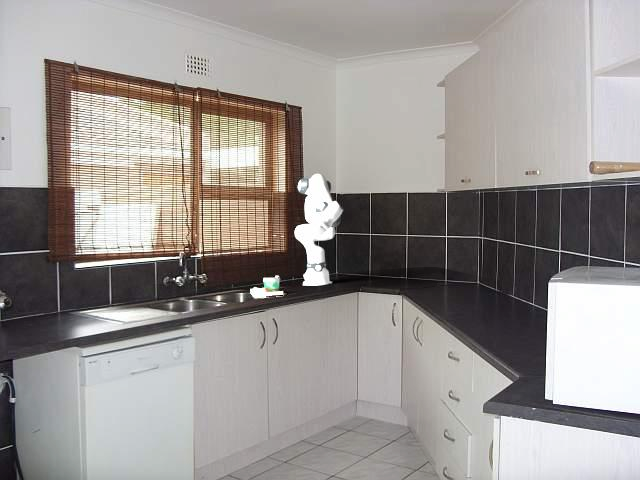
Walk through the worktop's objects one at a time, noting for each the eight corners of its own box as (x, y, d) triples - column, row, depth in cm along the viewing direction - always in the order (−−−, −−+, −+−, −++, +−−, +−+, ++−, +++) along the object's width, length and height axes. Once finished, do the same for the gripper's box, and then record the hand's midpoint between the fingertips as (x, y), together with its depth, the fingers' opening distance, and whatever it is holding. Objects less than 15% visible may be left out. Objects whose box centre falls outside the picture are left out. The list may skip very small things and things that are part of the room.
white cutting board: (250, 293, 384) (250, 287, 384) (277, 291, 388) (277, 285, 387) (254, 298, 362) (254, 292, 362) (283, 296, 365) (282, 290, 365)
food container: (272, 295, 369) (271, 278, 368) (263, 295, 372) (263, 278, 372) (285, 292, 379) (284, 275, 379) (276, 292, 383) (275, 275, 382)
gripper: (315, 220, 391) (300, 237, 390) (322, 221, 371) (306, 239, 370) (322, 227, 392) (307, 244, 391) (329, 228, 372) (314, 246, 371)
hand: (307, 242), depth 380 cm, fingers closed
